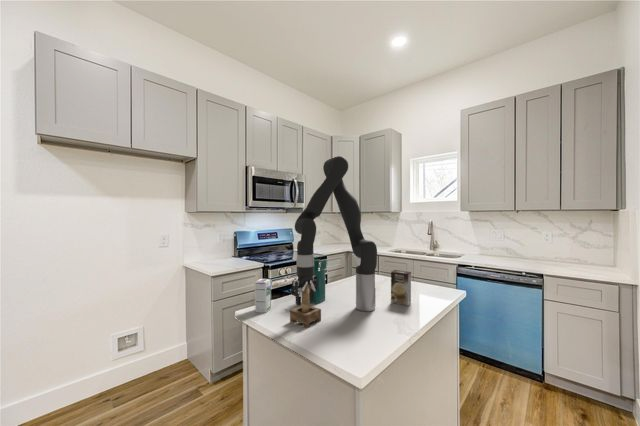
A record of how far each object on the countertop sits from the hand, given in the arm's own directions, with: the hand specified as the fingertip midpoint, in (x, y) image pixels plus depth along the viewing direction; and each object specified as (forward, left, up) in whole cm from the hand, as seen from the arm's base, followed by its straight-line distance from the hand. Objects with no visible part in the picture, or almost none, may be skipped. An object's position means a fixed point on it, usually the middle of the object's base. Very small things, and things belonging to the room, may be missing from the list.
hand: (305, 302), depth 114 cm
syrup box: (+3, -25, -8) cm, 27 cm away
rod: (0, 0, -8) cm, 8 cm away
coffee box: (-49, +22, -8) cm, 54 cm away
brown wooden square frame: (0, 0, -8) cm, 8 cm away
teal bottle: (-24, -14, -8) cm, 29 cm away
